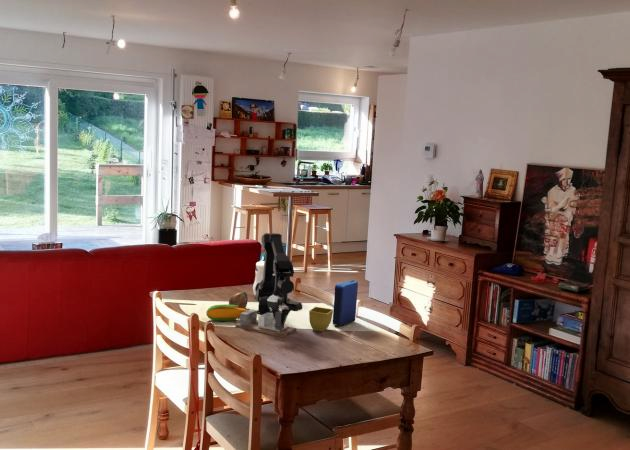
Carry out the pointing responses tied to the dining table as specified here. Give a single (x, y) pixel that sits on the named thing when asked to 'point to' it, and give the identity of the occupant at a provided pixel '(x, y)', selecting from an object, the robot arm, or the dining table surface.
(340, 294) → the book
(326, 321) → the flower pot
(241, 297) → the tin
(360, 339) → the dining table surface
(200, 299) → the dining table surface
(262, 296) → the robot arm
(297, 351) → the dining table surface
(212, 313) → the corn
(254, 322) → the press base
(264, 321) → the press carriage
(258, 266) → the milk container
